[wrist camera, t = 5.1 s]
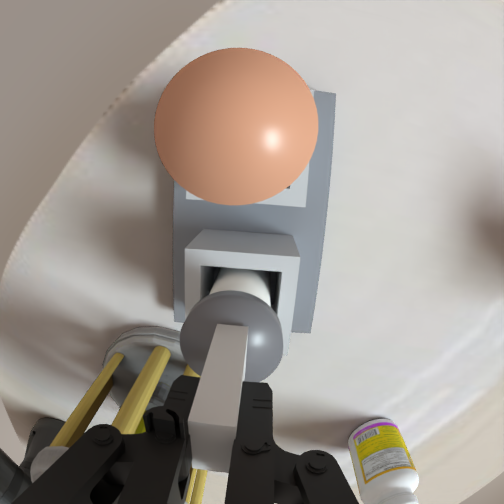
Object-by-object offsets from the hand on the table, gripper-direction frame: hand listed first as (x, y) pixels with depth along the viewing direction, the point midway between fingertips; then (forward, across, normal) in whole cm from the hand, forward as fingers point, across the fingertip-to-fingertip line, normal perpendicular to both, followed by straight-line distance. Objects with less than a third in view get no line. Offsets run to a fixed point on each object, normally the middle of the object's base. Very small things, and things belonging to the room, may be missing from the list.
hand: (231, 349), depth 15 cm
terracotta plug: (+7, 0, +10) cm, 12 cm away
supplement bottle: (+13, +17, -21) cm, 30 cm away
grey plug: (+10, 0, 0) cm, 10 cm away
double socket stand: (+13, 0, +5) cm, 14 cm away
